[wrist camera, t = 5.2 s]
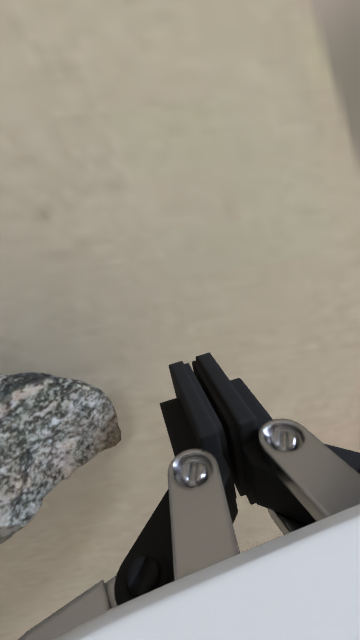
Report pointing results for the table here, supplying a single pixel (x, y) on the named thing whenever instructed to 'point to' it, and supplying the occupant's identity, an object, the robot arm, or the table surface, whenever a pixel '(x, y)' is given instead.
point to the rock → (46, 439)
